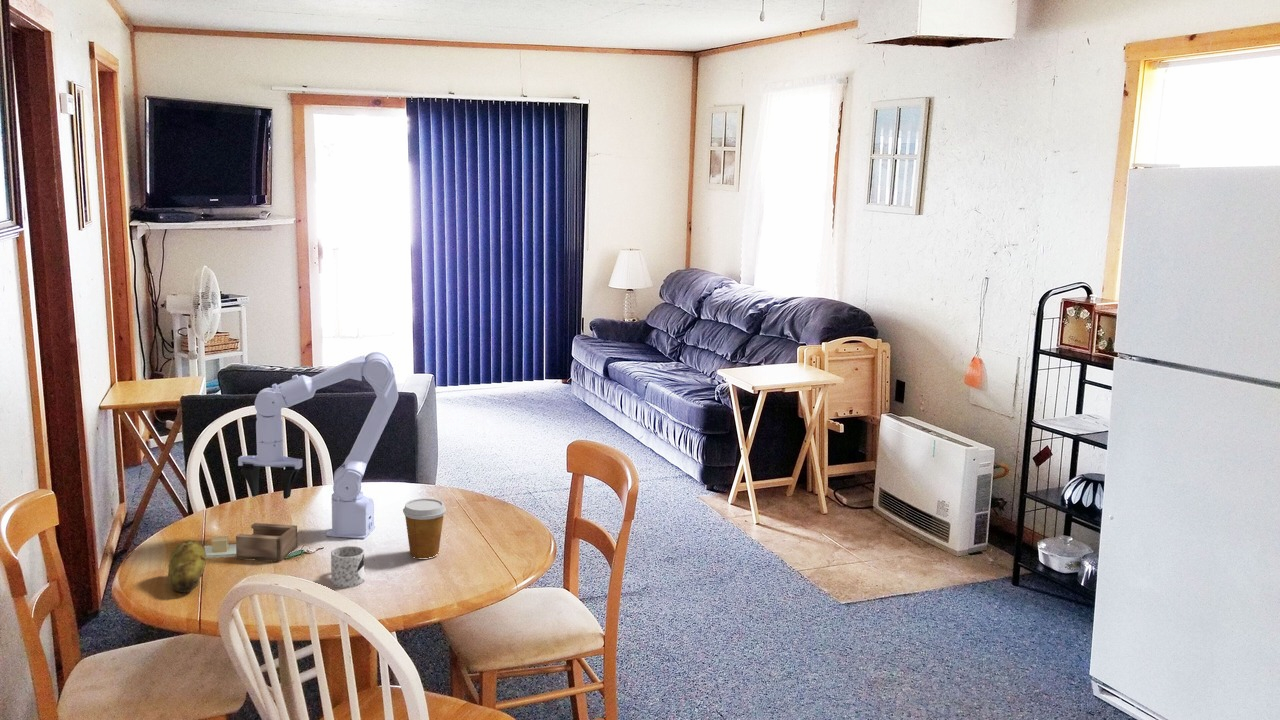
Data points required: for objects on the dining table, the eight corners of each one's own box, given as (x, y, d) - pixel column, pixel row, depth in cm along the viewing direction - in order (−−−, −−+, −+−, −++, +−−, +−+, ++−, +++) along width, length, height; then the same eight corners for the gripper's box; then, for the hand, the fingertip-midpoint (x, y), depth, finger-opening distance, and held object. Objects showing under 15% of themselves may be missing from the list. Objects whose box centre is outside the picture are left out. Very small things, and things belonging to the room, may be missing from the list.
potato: (152, 596, 192) (150, 558, 191) (179, 571, 205) (178, 535, 203) (195, 597, 192) (193, 559, 191) (219, 572, 205) (218, 536, 204)
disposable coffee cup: (430, 544, 226) (431, 495, 224) (453, 555, 220) (454, 505, 218) (394, 553, 220) (394, 503, 218) (417, 565, 213) (417, 513, 211)
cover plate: (241, 548, 220) (241, 533, 219) (237, 558, 214) (237, 542, 214) (203, 550, 218) (203, 534, 217) (198, 560, 212) (198, 544, 211)
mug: (365, 586, 201) (365, 556, 200) (332, 589, 199) (331, 559, 198) (361, 568, 210) (361, 539, 209) (329, 571, 208) (329, 542, 207)
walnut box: (297, 547, 221) (297, 525, 220) (280, 561, 212) (280, 539, 211) (255, 544, 222) (254, 522, 221) (236, 558, 213) (235, 536, 212)
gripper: (307, 437, 226) (308, 493, 229) (247, 434, 227) (249, 489, 230) (294, 445, 220) (295, 502, 222) (233, 441, 220) (234, 498, 223)
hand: (271, 496), depth 225 cm, fingers open, 7 cm apart
